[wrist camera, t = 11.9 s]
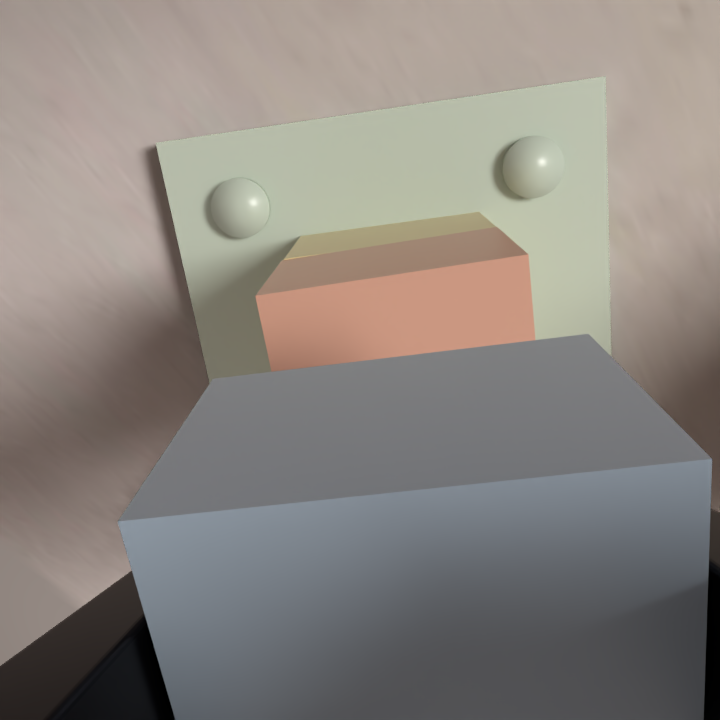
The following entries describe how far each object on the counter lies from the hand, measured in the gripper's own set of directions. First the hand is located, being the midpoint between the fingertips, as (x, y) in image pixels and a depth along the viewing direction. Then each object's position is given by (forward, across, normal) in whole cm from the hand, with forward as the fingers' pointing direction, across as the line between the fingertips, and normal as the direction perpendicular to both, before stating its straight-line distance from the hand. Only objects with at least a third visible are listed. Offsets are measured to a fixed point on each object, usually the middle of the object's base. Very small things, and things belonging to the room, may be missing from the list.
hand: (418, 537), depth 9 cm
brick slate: (+1, 0, 0) cm, 1 cm away
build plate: (+12, 0, 0) cm, 12 cm away
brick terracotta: (+8, 0, 0) cm, 8 cm away
